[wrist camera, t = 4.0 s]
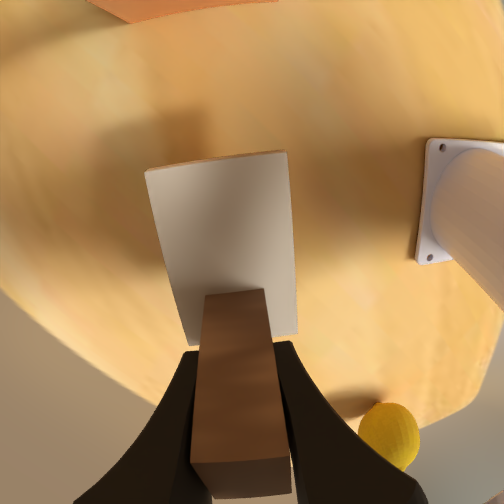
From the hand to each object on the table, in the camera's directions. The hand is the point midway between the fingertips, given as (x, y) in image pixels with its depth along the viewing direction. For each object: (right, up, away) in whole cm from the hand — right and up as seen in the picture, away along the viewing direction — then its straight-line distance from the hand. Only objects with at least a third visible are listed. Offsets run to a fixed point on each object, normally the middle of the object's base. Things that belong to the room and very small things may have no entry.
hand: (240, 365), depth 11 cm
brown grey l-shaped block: (0, +4, +2) cm, 4 cm away
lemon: (+12, -10, +16) cm, 23 cm away
